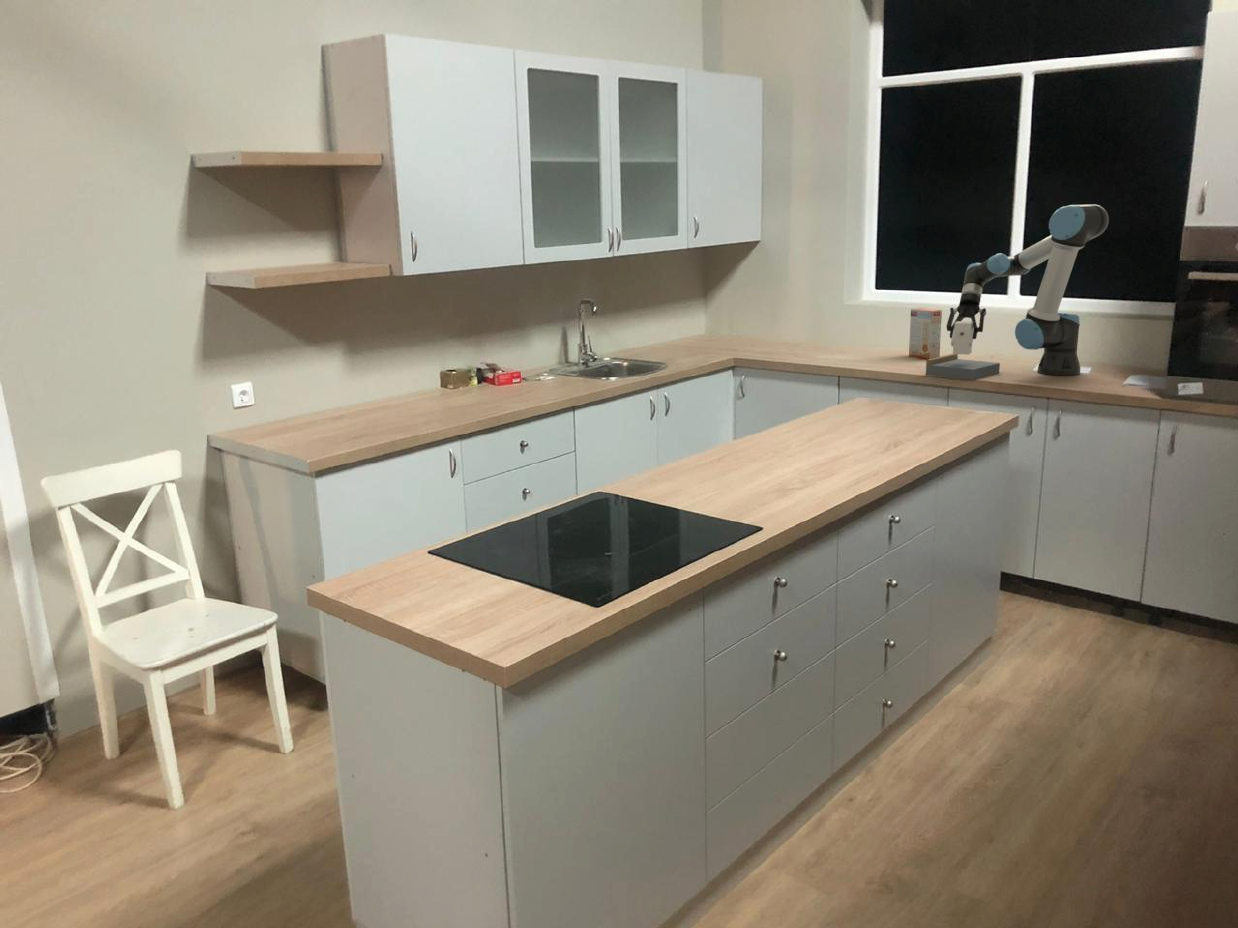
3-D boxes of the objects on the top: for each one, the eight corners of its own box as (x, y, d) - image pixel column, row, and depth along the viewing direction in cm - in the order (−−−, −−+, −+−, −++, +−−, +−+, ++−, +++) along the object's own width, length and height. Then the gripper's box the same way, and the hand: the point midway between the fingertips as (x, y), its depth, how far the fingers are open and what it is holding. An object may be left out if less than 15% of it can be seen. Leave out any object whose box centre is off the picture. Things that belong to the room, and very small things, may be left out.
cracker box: (940, 358, 423) (942, 310, 418) (929, 359, 421) (931, 310, 416) (919, 354, 436) (921, 307, 431) (908, 355, 434) (910, 308, 429)
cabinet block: (971, 352, 384) (973, 321, 381) (968, 355, 378) (970, 323, 375) (955, 351, 386) (957, 321, 383) (952, 354, 380) (954, 323, 377)
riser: (999, 373, 383) (1000, 357, 382) (973, 380, 370) (974, 364, 369) (952, 368, 398) (953, 353, 396) (925, 374, 385) (926, 359, 383)
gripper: (996, 304, 387) (987, 351, 377) (946, 303, 395) (936, 349, 386) (995, 292, 381) (986, 339, 371) (945, 291, 390) (934, 337, 380)
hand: (961, 344), depth 378 cm, fingers closed on cabinet block, 6 cm apart
